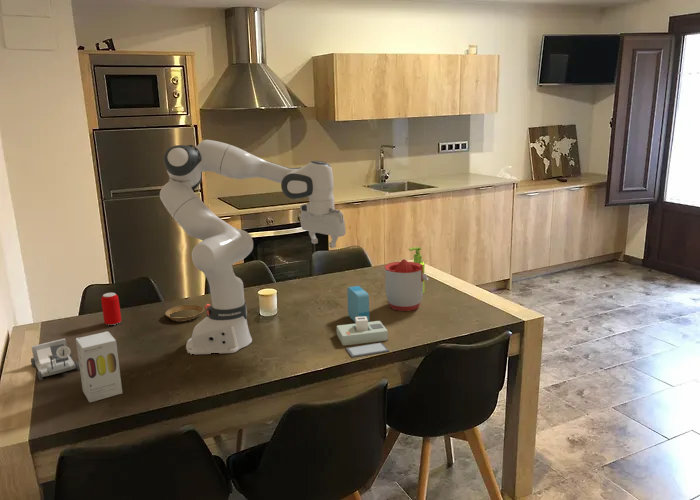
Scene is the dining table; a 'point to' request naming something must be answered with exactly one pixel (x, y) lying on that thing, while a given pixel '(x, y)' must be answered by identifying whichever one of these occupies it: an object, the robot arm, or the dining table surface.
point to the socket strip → (362, 333)
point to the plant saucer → (184, 307)
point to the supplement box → (99, 366)
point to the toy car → (52, 358)
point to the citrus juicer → (404, 285)
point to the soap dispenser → (418, 259)
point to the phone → (367, 349)
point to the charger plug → (361, 324)
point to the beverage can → (111, 308)
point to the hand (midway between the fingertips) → (323, 245)
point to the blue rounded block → (357, 302)
